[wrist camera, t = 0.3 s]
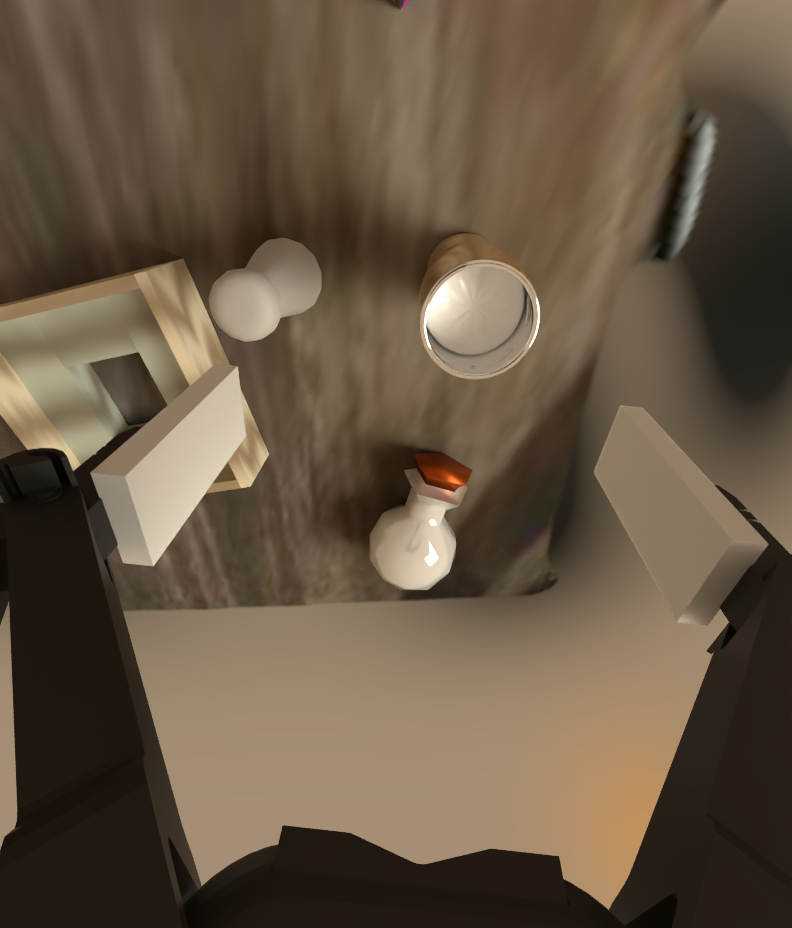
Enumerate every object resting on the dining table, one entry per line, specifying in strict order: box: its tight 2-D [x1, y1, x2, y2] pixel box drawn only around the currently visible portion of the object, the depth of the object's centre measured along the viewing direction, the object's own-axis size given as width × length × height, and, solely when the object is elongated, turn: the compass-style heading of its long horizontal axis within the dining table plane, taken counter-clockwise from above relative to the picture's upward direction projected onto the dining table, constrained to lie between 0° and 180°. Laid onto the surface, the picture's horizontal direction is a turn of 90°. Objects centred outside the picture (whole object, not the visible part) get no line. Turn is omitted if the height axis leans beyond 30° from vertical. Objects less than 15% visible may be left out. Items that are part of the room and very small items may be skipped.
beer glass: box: [418, 233, 540, 379], centre depth 30 cm, size 7×7×15 cm
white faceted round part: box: [370, 453, 472, 590], centre depth 47 cm, size 9×10×15 cm
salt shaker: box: [209, 238, 322, 342], centre depth 32 cm, size 6×6×13 cm
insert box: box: [0, 259, 269, 493], centre depth 42 cm, size 20×20×6 cm
